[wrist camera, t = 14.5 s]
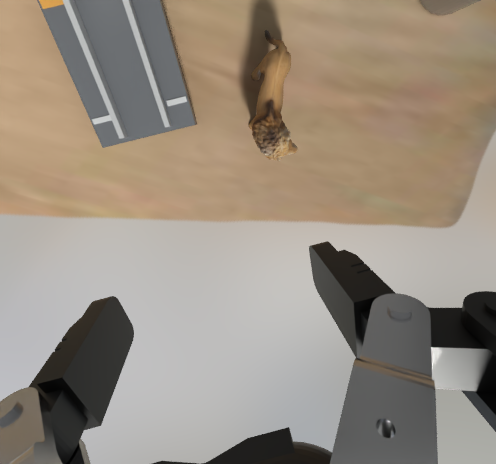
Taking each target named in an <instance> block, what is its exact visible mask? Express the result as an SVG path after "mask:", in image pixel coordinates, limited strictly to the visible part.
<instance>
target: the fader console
mask: <svg viewBox="0 0 496 464" xmlns="http://www.w3.org/2000/svg"><path fill="white" fill-rule="evenodd" d="M37 1H38V3H39V5H40V8H41V10H42V12H43V14H44V17H45V19H46V21H47V23H48V26H49V28H50V30H51V32H52V35H53V37H54V39H55V41H56V44H57V46H58V48H59V50H60V53H61V55H62V57H63V59H64V62H65V64H66V66H67V68H68V71H69V73H70V75H71V77H72V80H73V82H74V84H75V86H76V89H77V91H78V93H79V95H80V98H81V100H82V102H83V104H84V107H85V109H86V111H87V113H88V116H89V118H90V120H91V122H92V125H93V127H94V129H95V131H96V134H97V136H98V138H99V140H100V143H101V145H102V147H103V148H104V147H108V146H112V145H116V144H120V143H124V142H128V141H132V140H136V139H140V138H144V137H148V136H152V135H156V134H160V133H164V132H168V131H172V130H176V129H180V128H184V127H188V126H192V125H196V124H197V122H196V119H195V115H194V112H193V108H192V105H191V101H190V98H189V94H188V91H187V87H186V84H185V80H184V77H183V73H182V70H181V66H180V63H179V59H178V56H177V52H176V49H175V45H174V42H173V38H172V35H171V31H170V28H169V24H168V21H167V17H166V14H165V10H164V7H163V3H162V0H37Z"/></svg>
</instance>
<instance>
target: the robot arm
mask: <svg viewBox="0 0 496 464" xmlns="http://www.w3.org/2000/svg"><path fill="white" fill-rule="evenodd" d="M478 1H481V0H420V2H421V4H422V5H423V7H424V8H425V9H426V10H428V11H429V12H430V13H433V14H436V15H447V14H451V13H453V12H456V11H458V10H460V9H462V8H465V7H467V6H469V5H471V4H474V3H476V2H478ZM309 251H310V259H311V266H312V273H313V279H314V283H315V286H316V289H317V291H318V293H319V295H320V297H321V298H322V300H323V302H324V303H325V305H326V307H327V308H328V310H329V312H330V314H331V315H332V317H333V319H334V320H335V322H336V324H337V326H338V327H339V329H340V331H341V332H342V334H343V336H344V338H345V339H346V341H347V343H348V344H349V346H350V348H351V349H352V351H353V353H354V355H355V356H356V359H355V361H354V364H353V368H352V372H351V376H350V381H349V384H348V389H347V393H346V398H345V401H344V406H343V410H342V414H341V418H340V423H339V427H338V431H337V435H336V439H335V444H334V448H333V452H330V451H328V450H326V449H324V448H321V447H319V446H316V445H312V444H308V443H304V442H293V440H292V437H291V433H290V429H289V427H288V428H285V429H281V430H278V431H273V432H270V433H266V434H262V435H258V436H255V437H251V438H247V439H246V440H244V441H242V442H241V443H239V444H237V445H236V446H234V447H232V448H231V449H229V450H227V451H225V452H224V453H222V454H220V455H219V456H217V457H216V458H214V459H212V460H210V461H208V462H206V463H203V464H438V456H437V426H436V398H435V388H437V389H451V390H462V392H463V393H464V394H465V395H466V396H467V398H468V399H469V400H470V401H471V402H472V404H473V405H474V406H475V407H476V408H477V410H478V411H479V412H480V413H481V415H482V416H483V417H484V418H485V419H486V421H487V422H488V423H489V424H490V425H491V427H492V428H493V429H494V430H495V432H496V292H487V291H485V292H475V293H472V294H469V295H468V296H467V297H465V299H464V302H463V307H462V308H428V307H426V306H425V305H424V304H423V303H422V302H421V301H419V300H417V299H415V298H413V297H411V296H408V295H404V294H396V293H395V292H394V291H393V290H392V289H391V288H390V287H389V286H388V285H386V284H385V283H384V282H383V281H382V280H381V279H380V278H379V277H378V276H377V275H376V274H375V273H374V272H373V271H371V270H370V268H369V267H368V266H367V265H366V264H364V262H363V261H362V260H361V259H360V258H359V257H358V256H357V255H355V254H353V253H351V252H348V251H346V250H342V251H339V252H338V251H337V250H336V249H335V248H334V247H333V246H332V245H331V244H330V243H329V242H324V243H320V244H316V245H312V246H310V247H309ZM133 337H134V330H133V326H132V324H131V322H130V320H129V318H128V316H127V315H126V313H125V311H124V309H123V307H122V306H121V304H120V302H119V300H118V299H117V298H116V297H114V296H112V297H108V298H104V299H100V300H97V301H93V302H92V303H91V304H90V306H89V307H88V309H87V310H86V312H85V313H84V315H83V316H82V317H81V318H80V319H79V320H78V321H77V322H76V323H75V324H74V325H73V326H72V327H70V329H69V330H68V332H67V333H66V334H65V336H64V337H63V339H62V342H60V343H59V344H58V346H57V347H56V349H55V352H53V353H52V354H51V356H50V357H49V359H48V360H47V361H46V363H45V364H44V366H43V367H42V369H41V370H40V372H39V373H38V374H37V376H36V377H35V379H34V380H33V381H32V383H31V384H30V386H29V387H28V388H24V389H21V390H18V391H16V392H14V393H13V394H11V395H9V396H8V397H6V398H5V399H3V400H2V401H1V402H0V464H90V461H89V457H88V453H87V450H86V447H85V444H84V442H83V441H82V440H81V439H80V438H81V435H82V433H83V431H84V430H86V429H90V428H93V427H97V426H101V424H102V421H103V418H104V416H105V413H106V410H107V408H108V405H109V402H110V400H111V397H112V395H113V392H114V389H115V387H116V384H117V381H118V379H119V376H120V373H121V370H122V368H123V365H124V362H125V360H126V357H127V355H128V352H129V349H130V347H131V344H132V341H133ZM153 464H196V463H182V462H169V461H160V462H156V463H153Z"/></svg>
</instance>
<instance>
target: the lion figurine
mask: <svg viewBox="0 0 496 464" xmlns="http://www.w3.org/2000/svg"><path fill="white" fill-rule="evenodd" d="M265 37H266V39H267V40H268V41H269V43H271V44H273V45H276V46H278V48H277V49H274V50H272V51H270V52H269V53H268V54H267V55H266V56H265V57H264V58H263V60H262V61H261V62H260V63H259V65H258V67H257V68H256V69H255V70H254V71H253V72H252V75H251V77H252V79H253V80H259V78H260V76H261V73H264V80H263V83H262V85H261V88H260V91H259V96H258V101H257V115H256V116H255V118H254V119H253V120H252V121H251V122H250V123H249V127H250V129H252V131H253V134H252V135H253V137H254V139H255V142H256V144H257V146H258V148H260V150H261V152H262V153H264V154H265V156H266V157H267V158H269V160H271V159H274V160H278V161H281V159H282V156H284V155H287V154H289V155H291V154H294V153H296V152H297V150H298V148H297V146H296V145H295V144H294V143H292V141H291V139H290V132H289V131H288V130H287V127H286V126H285V124H284V122H283V121H282V116H281V114H280V112H281V108H282V103H283V84H284V79H285V77H286V75H287V74H288V72H289V70H290V66H291V55H290V53H289V52H287V48H286V46H285V45H284V42H283V41H281V40H274V39H273V38H272V37H271V36H270V34H269V32H268V31H267V30H265Z"/></svg>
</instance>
